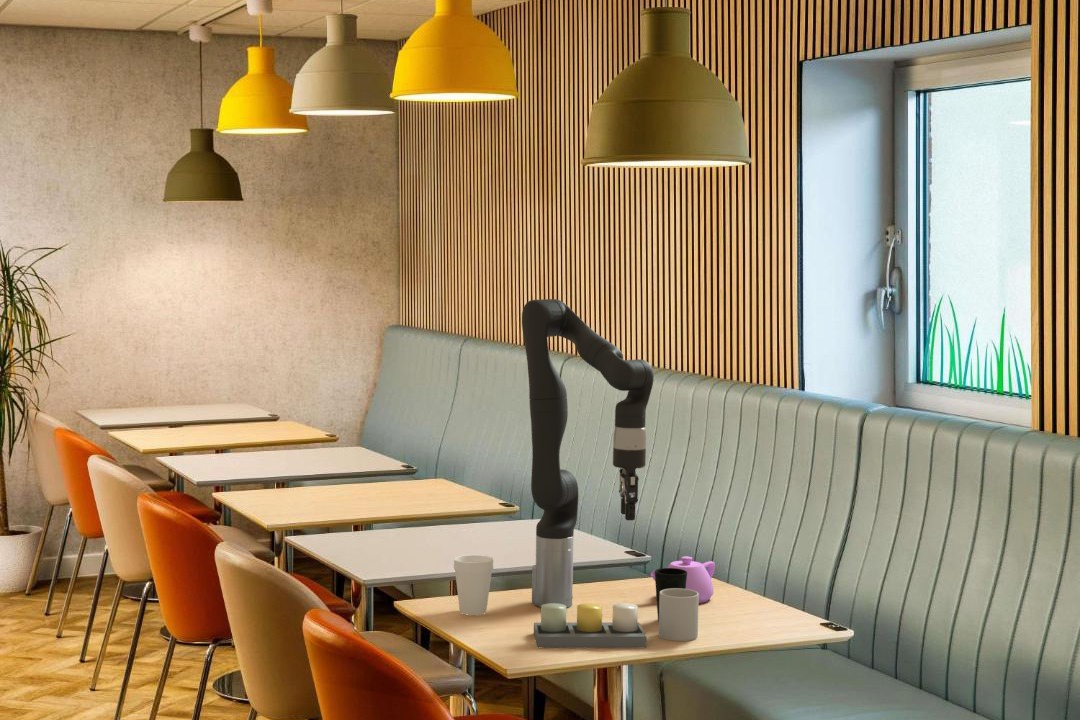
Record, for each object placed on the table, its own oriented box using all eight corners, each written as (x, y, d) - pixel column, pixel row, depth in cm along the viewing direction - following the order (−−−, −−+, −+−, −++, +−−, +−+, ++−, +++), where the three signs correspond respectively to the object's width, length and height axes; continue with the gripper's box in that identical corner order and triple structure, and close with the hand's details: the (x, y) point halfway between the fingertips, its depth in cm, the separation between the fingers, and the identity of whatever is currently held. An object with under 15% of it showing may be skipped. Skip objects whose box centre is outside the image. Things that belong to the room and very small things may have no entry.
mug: (670, 642, 305) (671, 598, 304) (650, 632, 313) (651, 589, 313) (712, 638, 309) (713, 594, 308) (691, 628, 318) (692, 585, 317)
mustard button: (577, 631, 302) (578, 609, 302) (575, 625, 308) (575, 603, 308) (603, 631, 303) (603, 609, 302) (600, 625, 308) (600, 603, 308)
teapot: (635, 597, 347) (636, 556, 346) (696, 589, 358) (697, 548, 357) (668, 609, 335) (669, 566, 335) (731, 600, 346) (732, 558, 345)
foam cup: (483, 618, 323) (484, 564, 322) (447, 615, 326) (448, 561, 325) (497, 609, 332) (498, 556, 331) (462, 606, 335) (463, 553, 334)
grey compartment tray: (537, 647, 299) (537, 636, 299) (533, 633, 311) (533, 622, 311) (646, 647, 300) (646, 636, 300) (638, 633, 312) (638, 622, 312)
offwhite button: (613, 631, 303) (614, 609, 303) (610, 625, 308) (611, 603, 308) (639, 631, 303) (639, 609, 303) (635, 625, 309) (636, 603, 309)
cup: (684, 626, 319) (685, 575, 318) (651, 624, 320) (652, 573, 320) (687, 618, 326) (688, 568, 326) (655, 616, 328) (656, 567, 327)
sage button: (541, 631, 302) (542, 609, 302) (540, 625, 307) (540, 603, 307) (567, 631, 302) (567, 609, 302) (564, 625, 308) (565, 603, 308)
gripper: (650, 450, 308) (648, 523, 309) (641, 442, 322) (639, 511, 324) (617, 450, 308) (615, 522, 309) (609, 442, 322) (607, 511, 323)
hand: (627, 516), depth 316 cm, fingers open, 7 cm apart
